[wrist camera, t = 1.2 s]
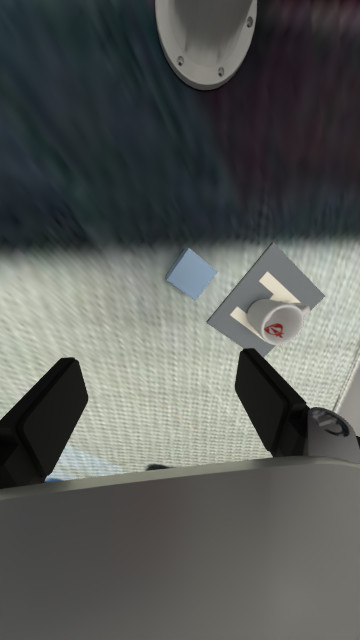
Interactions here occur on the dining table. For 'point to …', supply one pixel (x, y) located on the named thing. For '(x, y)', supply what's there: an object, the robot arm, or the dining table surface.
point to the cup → (277, 320)
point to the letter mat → (263, 297)
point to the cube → (190, 273)
